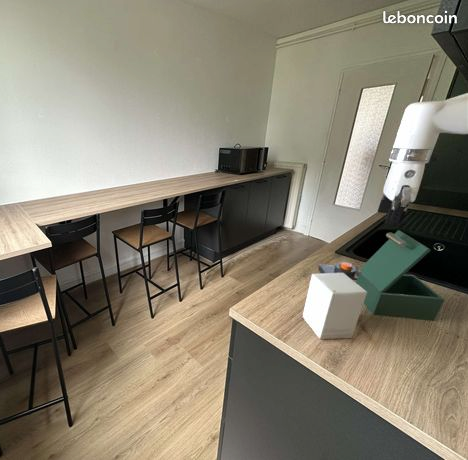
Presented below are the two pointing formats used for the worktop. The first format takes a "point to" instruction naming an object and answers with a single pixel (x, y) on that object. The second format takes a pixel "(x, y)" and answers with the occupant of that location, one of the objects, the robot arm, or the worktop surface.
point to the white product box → (333, 305)
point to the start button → (346, 266)
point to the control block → (338, 270)
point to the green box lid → (393, 260)
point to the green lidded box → (402, 299)
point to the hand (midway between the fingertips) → (388, 218)
